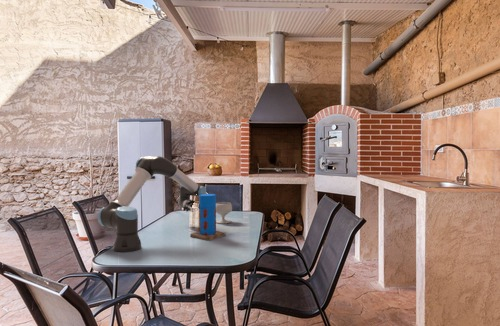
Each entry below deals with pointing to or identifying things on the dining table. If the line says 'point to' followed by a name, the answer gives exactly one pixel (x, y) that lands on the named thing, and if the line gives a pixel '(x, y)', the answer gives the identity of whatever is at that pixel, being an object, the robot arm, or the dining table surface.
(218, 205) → the chalice
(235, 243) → the dining table surface
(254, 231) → the dining table surface
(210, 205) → the blue tower block
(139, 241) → the robot arm
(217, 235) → the walnut board
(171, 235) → the dining table surface
